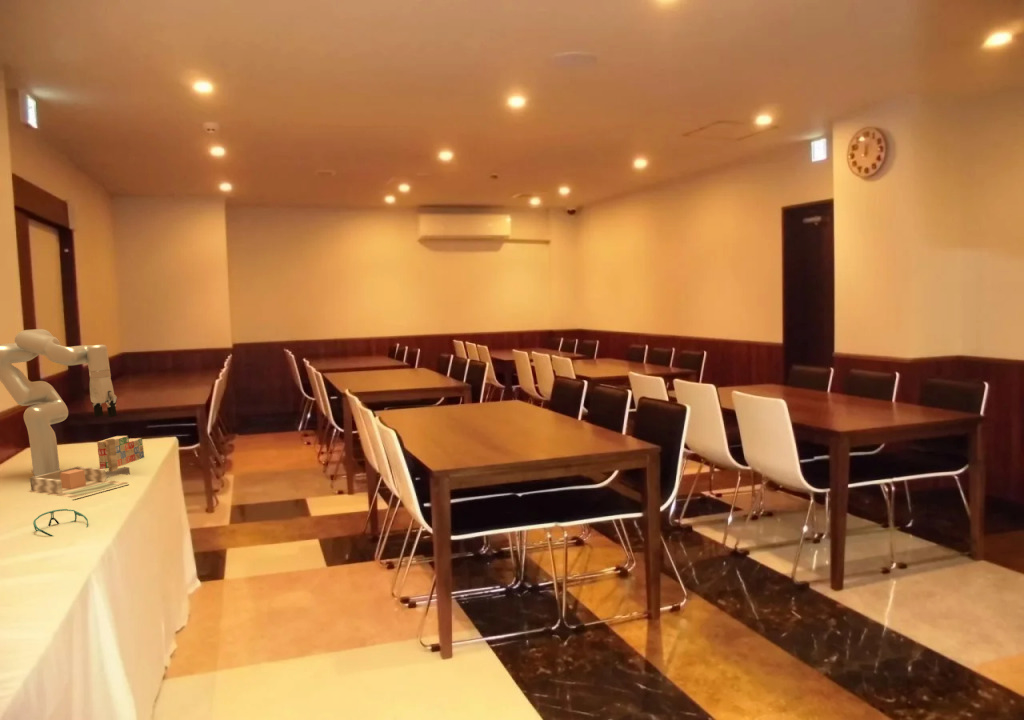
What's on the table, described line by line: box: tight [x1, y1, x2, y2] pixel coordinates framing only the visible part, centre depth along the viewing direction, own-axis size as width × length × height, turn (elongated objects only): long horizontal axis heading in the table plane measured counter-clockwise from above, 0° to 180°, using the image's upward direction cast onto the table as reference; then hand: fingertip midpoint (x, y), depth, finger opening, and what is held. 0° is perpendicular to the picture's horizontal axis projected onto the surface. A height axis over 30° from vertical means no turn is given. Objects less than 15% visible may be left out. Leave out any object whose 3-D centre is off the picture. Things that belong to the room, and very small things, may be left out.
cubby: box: [27, 466, 130, 501], centre depth 293 cm, size 30×22×6 cm
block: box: [60, 469, 86, 489], centre depth 295 cm, size 6×6×6 cm
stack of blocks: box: [96, 435, 145, 469], centre depth 340 cm, size 21×6×12 cm, turn 169°
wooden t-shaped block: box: [105, 438, 131, 479], centre depth 311 cm, size 3×12×16 cm, turn 151°
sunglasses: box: [32, 508, 89, 537], centre depth 242 cm, size 14×15×5 cm
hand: (105, 416), depth 309 cm, fingers open, 9 cm apart
